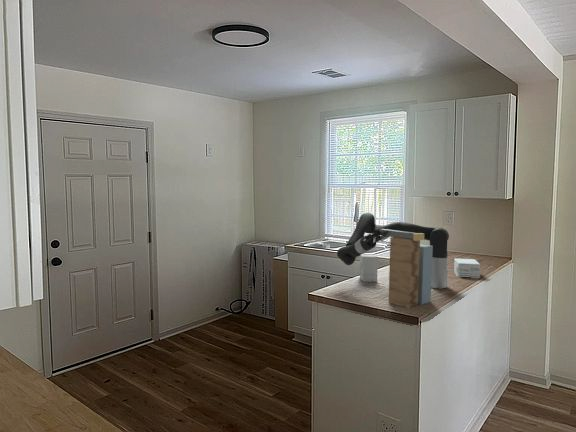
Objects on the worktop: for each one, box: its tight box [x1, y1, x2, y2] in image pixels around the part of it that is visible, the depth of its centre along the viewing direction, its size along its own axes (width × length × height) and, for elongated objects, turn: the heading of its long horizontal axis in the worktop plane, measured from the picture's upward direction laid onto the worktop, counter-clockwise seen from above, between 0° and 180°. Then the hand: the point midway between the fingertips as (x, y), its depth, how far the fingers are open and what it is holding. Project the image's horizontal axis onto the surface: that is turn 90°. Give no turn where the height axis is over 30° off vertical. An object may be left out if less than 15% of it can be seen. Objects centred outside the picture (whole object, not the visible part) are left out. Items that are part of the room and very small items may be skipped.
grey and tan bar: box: [379, 229, 425, 241], centre depth 210 cm, size 6×24×3 cm, turn 36°
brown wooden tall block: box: [388, 237, 421, 309], centre depth 209 cm, size 7×12×32 cm, turn 36°
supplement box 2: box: [453, 258, 482, 279], centre depth 277 cm, size 17×13×9 cm
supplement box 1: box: [359, 253, 379, 283], centre depth 259 cm, size 9×9×15 cm
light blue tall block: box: [418, 243, 433, 305], centre depth 215 cm, size 7×12×28 cm, turn 36°
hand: (386, 231), depth 217 cm, fingers open, 8 cm apart
